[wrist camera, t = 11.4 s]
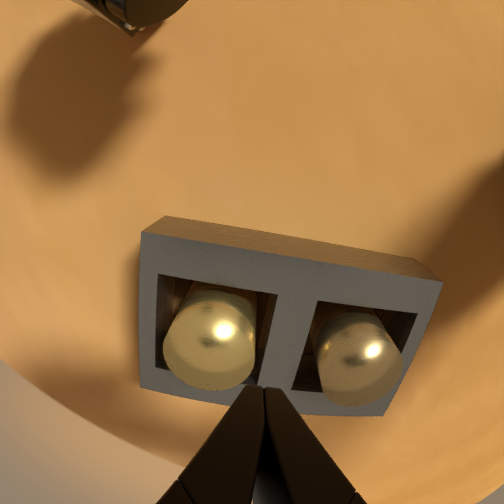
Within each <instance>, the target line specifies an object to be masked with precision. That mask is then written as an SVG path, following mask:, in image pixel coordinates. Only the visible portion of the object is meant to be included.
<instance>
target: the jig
mask: <svg viewBox="0 0 504 504" xmlns="http://www.w3.org/2000/svg"><path fill="white" fill-rule="evenodd" d="M175 277H179V278H184V279H190V280H195V281H201V282H206V283H212V284H218V285H224V286H230V287H235V288H241V289H247V290H254V291H260V292H266V293H270V294H269V299H268V303H267V308H266V313H265V318H264V322H263V327H262V332H261V336H260V341H259V346H258V348H255V361H254V366H253V369H252V371H251V373H250V375H249V376H248V377H247V378H246V379H245V380H244V381H243V382H242V383H240V384H239V385H237V386H235V387H233V388H230V389H226V390H220V391H209V390H202V389H198V388H195V387H193V386H190V385H188V384H186V383H185V382H183V381H182V380H180V379H179V378H178V377H177V376H175V375H174V373H173V372H172V371H171V370H170V368H169V367H168V365H167V363H166V361H165V358H164V354H163V343H164V339H165V337H166V335H167V333H168V331H169V329H170V327H171V325H172V314H173V299H174V285H175ZM443 283H444V282H443V281H441V280H440V279H439V278H438V277H436V276H435V275H434V274H432V273H431V272H430V271H429V270H427V269H426V268H425V267H424V266H422V265H421V264H420V263H418V262H417V261H416V260H414V259H410V258H405V257H399V256H394V255H389V254H384V253H379V252H373V251H368V250H363V249H357V248H352V247H347V246H341V245H336V244H330V243H325V242H319V241H314V240H308V239H302V238H297V237H291V236H285V235H280V234H274V233H268V232H262V231H256V230H250V229H244V228H238V227H232V226H226V225H220V224H214V223H208V222H202V221H195V220H189V219H183V218H176V217H170V216H164V217H162V218H161V219H159V220H158V221H156V222H155V223H153V224H152V225H150V226H149V227H147V228H146V229H144V230H143V231H141V246H140V266H139V301H138V336H139V370H140V387H141V388H145V389H149V390H153V391H157V392H161V393H165V394H170V395H174V396H179V397H184V398H188V399H193V400H199V401H204V402H210V403H215V404H221V405H227V406H231V405H232V403H233V402H234V401H235V399H236V398H237V396H238V395H239V393H240V392H241V390H242V389H243V388H244V386H245V385H247V384H250V385H257V386H262V387H263V388H264V387H273V388H280V389H282V390H283V392H284V393H285V395H286V396H287V397H288V399H289V400H290V402H291V403H292V405H293V406H294V407H295V409H296V410H297V412H298V413H299V414H308V415H327V416H383V415H384V413H385V412H386V410H387V408H388V406H389V405H390V403H391V401H392V399H393V397H394V395H395V393H396V392H397V390H398V388H399V386H400V384H401V382H402V380H403V378H404V376H405V374H406V372H407V370H408V368H409V366H410V364H411V362H412V360H413V357H414V355H415V353H416V351H417V349H418V346H419V344H420V342H421V340H422V337H423V335H424V333H425V330H426V328H427V325H428V323H429V321H430V318H431V316H432V313H433V310H434V308H435V305H436V302H437V300H438V297H439V294H440V292H441V289H442V286H443ZM318 300H319V301H326V302H333V303H340V304H347V305H355V306H362V307H370V308H378V309H385V311H384V314H383V317H382V320H381V323H382V325H383V326H384V328H385V329H386V331H387V333H388V334H389V336H390V337H391V339H392V341H393V342H394V344H395V345H396V347H397V348H398V350H399V352H400V353H401V356H402V358H403V370H402V374H401V376H400V378H399V380H398V382H397V383H396V385H395V386H394V387H393V388H392V389H391V390H390V391H389V392H388V393H387V394H386V395H384V396H383V397H381V398H380V399H378V400H376V401H374V402H372V403H369V404H366V405H362V406H356V407H347V406H341V405H338V404H335V403H333V402H332V401H330V400H329V399H328V398H327V397H326V396H325V394H324V392H323V389H322V385H321V380H320V376H319V372H318V368H317V363H316V359H315V355H307V354H302V353H303V350H304V346H305V343H306V340H307V336H308V333H309V329H310V326H311V322H312V319H313V315H314V312H315V308H316V305H317V301H318Z"/></svg>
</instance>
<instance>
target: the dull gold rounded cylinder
mask: <svg viewBox="0 0 504 504" xmlns="http://www.w3.org/2000/svg"><path fill="white" fill-rule="evenodd" d="M309 334H310V338H311V342H312V347H313V351H314V355H315V359H316V363H317V368H318V372H319V376H320V380H321V385H322V389H323V392H324V394H325V396H326V397H327V398H328V399H329V400H330V401H332V402H333V403H335V404H338V405H341V406H347V407H356V406H362V405H366V404H369V403H372V402H374V401H376V400H378V399H380V398H381V397H383V396H384V395H386V394H387V393H388V392H389V391H390V390H391V389H392V388H393V387H394V386H395V385H396V383H397V382H398V380H399V378H400V376H401V374H402V370H403V358H402V356H401V353H400V352H399V350H398V348H397V347H396V345H395V344H394V342H393V341H392V339H391V337H390V336H389V334H388V333H387V331H386V329H385V328H384V326H383V325H382V323H381V322H380V320H379V319H378V317H377V316H376V314H375V313H374V311H373V309H372V308H370V307H362V306H355V305H347V304H340V303H333V302H326V301H318V302H317V305H316V308H315V312H314V315H313V319H312V322H311V326H310V329H309Z"/></svg>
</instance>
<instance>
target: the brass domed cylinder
mask: <svg viewBox="0 0 504 504" xmlns="http://www.w3.org/2000/svg"><path fill="white" fill-rule="evenodd" d="M256 311H257V299H256V294H255V291H254V290H247V289H241V288H235V287H230V286H224V285H218V284H212V283H206V282H201V281H194V283H193V284H192V286H191V288H190V290H189V291H188V293H187V295H186V297H185V299H184V301H183V303H182V305H181V307H180V309H179V311H178V313H177V315H176V317H175V319H174V321H173V323H172V325H171V327H170V329H169V331H168V333H167V335H166V337H165V339H164V343H163V354H164V358H165V361H166V363H167V365H168V367H169V368H170V370H171V371H172V372H173V373H174V375H175V376H177V377H178V378H179V379H180V380H182V381H183V382H185V383H186V384H188V385H190V386H193V387H195V388H198V389H202V390H209V391H220V390H226V389H230V388H233V387H235V386H237V385H239V384H240V383H242V382H243V381H244V380H245V379H246V378H247V377H248V376H249V375H250V373H251V371H252V369H253V366H254V361H255V337H256Z"/></svg>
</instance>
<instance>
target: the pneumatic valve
mask: <svg viewBox="0 0 504 504" xmlns="http://www.w3.org/2000/svg"><path fill="white" fill-rule="evenodd" d="M71 1H73V2H75V3H77V4H79V5H80V6H82V7H84V8H86V9H87V10H89V11H91V12H93V13H94V14H96V15H98V16H99V17H101V18H103V19H104V20H106V21H108V22H109V23H111V24H113V25H114V26H116V27H117V28H119V29H121V30H122V31H124V32H125V33H127V34H128V35H130V36H132V37H133V36H134V35H135V34H136V33H137V32H138V31H143V30H144V29H145V28H146V27H150V26H153V25H156V24H158V23H160V22H162V21H164V20H165V19H167V18H168V17H170V16H171V15H173V14H174V13H175V12H176V11H178V10H179V9H180V8H181V7H182V6H183V5H184V4H185V3H186V2H187V1H188V0H71Z"/></svg>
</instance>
